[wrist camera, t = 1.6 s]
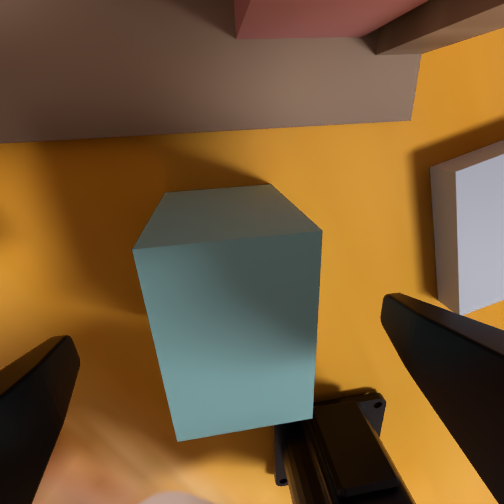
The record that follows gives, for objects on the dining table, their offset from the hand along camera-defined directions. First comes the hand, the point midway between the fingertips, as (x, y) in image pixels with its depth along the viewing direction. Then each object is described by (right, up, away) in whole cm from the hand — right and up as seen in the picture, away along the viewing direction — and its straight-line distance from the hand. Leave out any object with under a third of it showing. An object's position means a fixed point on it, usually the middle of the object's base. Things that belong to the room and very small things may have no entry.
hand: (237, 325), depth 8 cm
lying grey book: (+11, +4, +5) cm, 13 cm away
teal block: (-1, +2, +4) cm, 4 cm away
